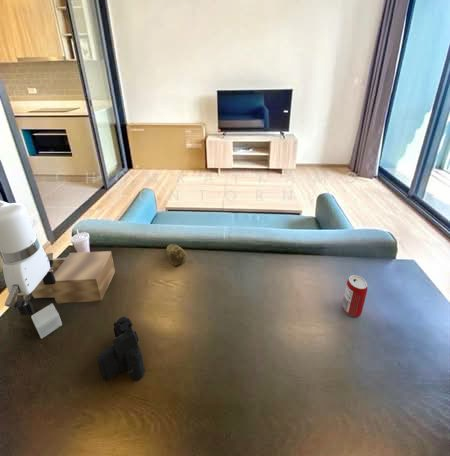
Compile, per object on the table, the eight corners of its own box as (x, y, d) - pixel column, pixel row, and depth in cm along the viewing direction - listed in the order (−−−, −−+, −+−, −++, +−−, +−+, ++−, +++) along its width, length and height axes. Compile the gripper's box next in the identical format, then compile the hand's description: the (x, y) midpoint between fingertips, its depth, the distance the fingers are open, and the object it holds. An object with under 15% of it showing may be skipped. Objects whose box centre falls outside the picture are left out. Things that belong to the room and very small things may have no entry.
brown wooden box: (56, 303, 82) (48, 281, 78) (75, 273, 94) (70, 252, 90) (101, 301, 82) (96, 279, 79) (115, 271, 94) (111, 251, 91)
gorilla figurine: (95, 349, 69) (88, 326, 65) (131, 328, 74) (126, 306, 71) (108, 406, 57) (101, 382, 54) (149, 376, 62) (145, 352, 59)
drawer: (11, 302, 81) (3, 284, 79) (34, 274, 92) (28, 257, 89) (66, 299, 82) (61, 281, 79) (83, 272, 93) (79, 255, 90)
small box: (35, 327, 74) (30, 315, 73) (56, 313, 78) (52, 302, 77) (40, 340, 71) (35, 328, 69) (63, 325, 75) (59, 313, 73)
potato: (187, 249, 105) (186, 233, 102) (187, 272, 93) (186, 255, 90) (167, 251, 104) (165, 235, 101) (165, 275, 92) (163, 258, 89)
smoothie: (72, 261, 99) (63, 232, 94) (83, 250, 105) (76, 222, 100) (86, 263, 98) (79, 233, 93) (97, 251, 104) (90, 223, 99)
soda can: (364, 312, 78) (372, 283, 74) (354, 321, 75) (361, 291, 71) (348, 299, 82) (354, 271, 78) (338, 307, 80) (344, 278, 75)
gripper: (29, 229, 73) (45, 274, 79) (-24, 276, 56) (2, 329, 62) (55, 228, 73) (69, 273, 79) (11, 274, 57) (33, 327, 63)
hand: (39, 297), depth 71 cm, fingers open, 9 cm apart
